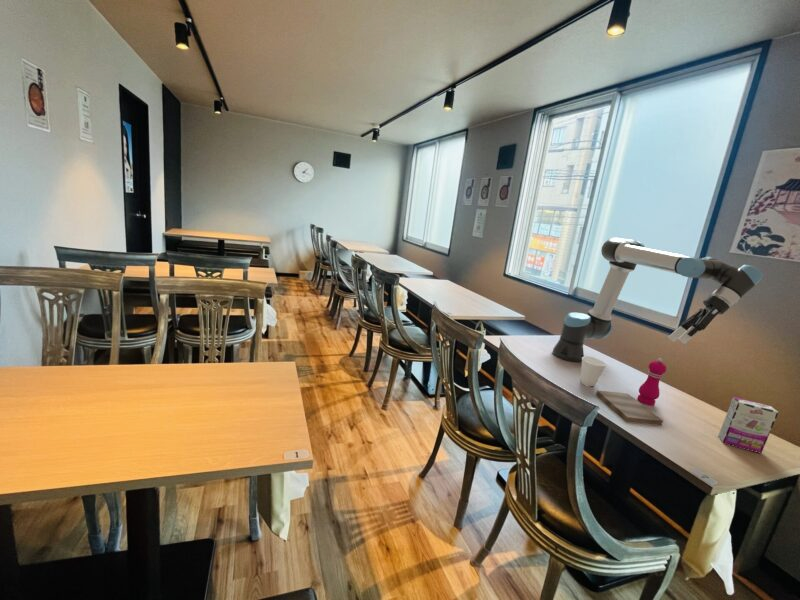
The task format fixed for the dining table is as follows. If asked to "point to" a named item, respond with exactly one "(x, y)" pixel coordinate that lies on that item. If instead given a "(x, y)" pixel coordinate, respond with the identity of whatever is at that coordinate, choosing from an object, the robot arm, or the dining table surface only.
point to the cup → (591, 370)
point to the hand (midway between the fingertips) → (675, 340)
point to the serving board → (629, 408)
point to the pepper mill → (652, 383)
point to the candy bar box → (747, 424)
